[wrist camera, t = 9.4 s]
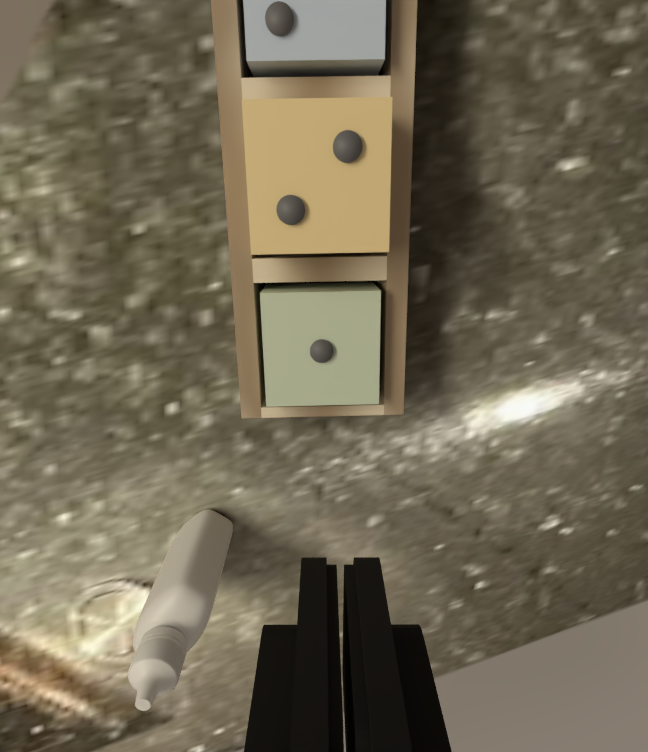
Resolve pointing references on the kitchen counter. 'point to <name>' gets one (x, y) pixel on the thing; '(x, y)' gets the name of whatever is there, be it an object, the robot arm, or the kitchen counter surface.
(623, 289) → the kitchen counter surface
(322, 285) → the tile one sage
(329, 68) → the tile three blue
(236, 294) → the tray
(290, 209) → the tile two ochre
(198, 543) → the eye dropper bottle
